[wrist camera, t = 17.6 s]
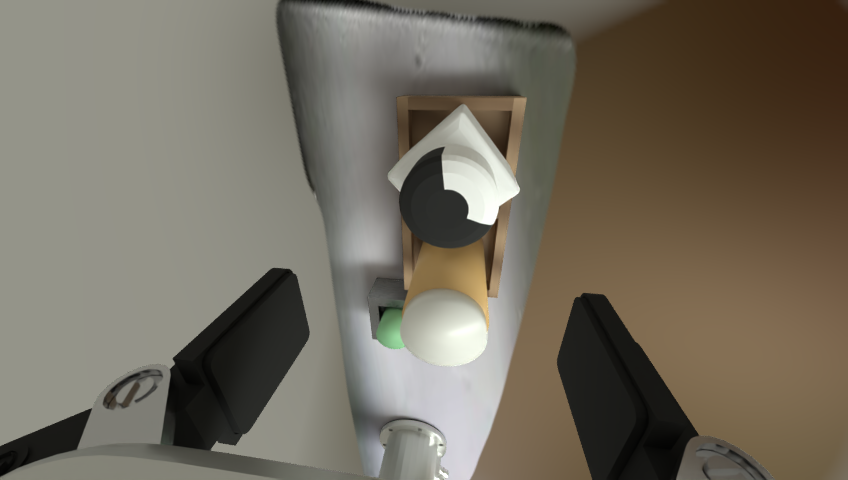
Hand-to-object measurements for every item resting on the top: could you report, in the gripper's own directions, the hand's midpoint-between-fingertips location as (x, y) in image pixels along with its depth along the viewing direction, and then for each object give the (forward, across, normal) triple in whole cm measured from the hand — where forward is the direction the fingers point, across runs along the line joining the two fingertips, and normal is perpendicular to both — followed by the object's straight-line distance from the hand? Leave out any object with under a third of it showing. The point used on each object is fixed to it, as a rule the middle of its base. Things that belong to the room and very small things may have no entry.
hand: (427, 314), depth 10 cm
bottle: (+22, 0, +10) cm, 24 cm away
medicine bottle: (+21, 0, -1) cm, 21 cm away
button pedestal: (+24, +6, +19) cm, 31 cm away
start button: (+21, +6, +19) cm, 29 cm away
